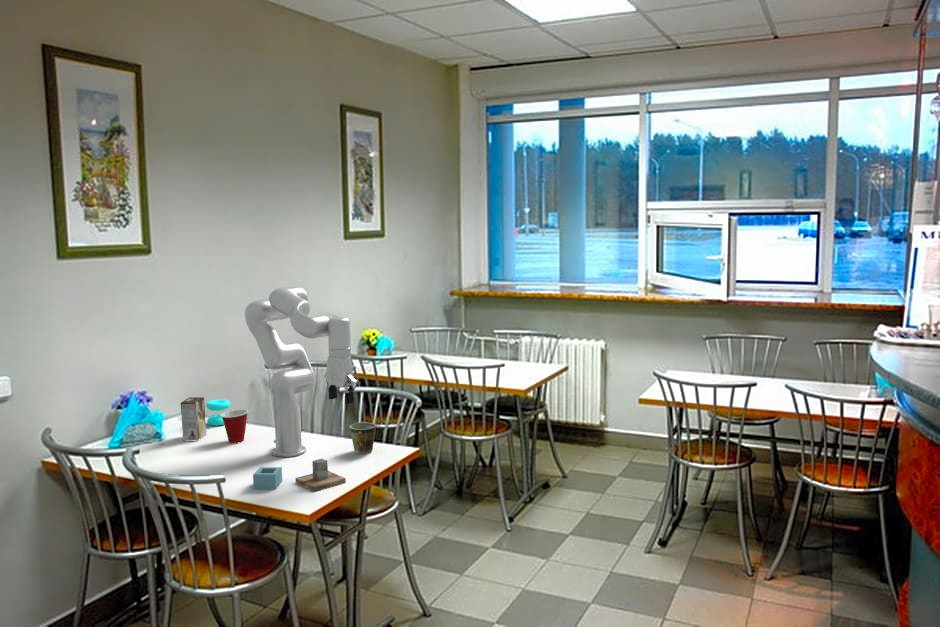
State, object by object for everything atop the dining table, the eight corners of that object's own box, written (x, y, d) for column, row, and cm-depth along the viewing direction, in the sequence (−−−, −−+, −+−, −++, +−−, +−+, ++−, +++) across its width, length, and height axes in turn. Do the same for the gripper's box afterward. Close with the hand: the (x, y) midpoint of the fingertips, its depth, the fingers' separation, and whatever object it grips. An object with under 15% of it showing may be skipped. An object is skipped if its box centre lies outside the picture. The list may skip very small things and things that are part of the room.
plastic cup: (227, 437, 306) (225, 408, 304) (253, 437, 305) (252, 408, 304) (217, 445, 295) (215, 415, 293) (244, 445, 294) (243, 415, 293)
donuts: (201, 403, 321) (212, 398, 331) (203, 426, 322) (213, 420, 332) (223, 404, 320) (234, 398, 329) (225, 427, 321) (235, 420, 331)
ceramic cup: (353, 447, 291) (352, 422, 289) (378, 447, 290) (378, 422, 289) (346, 458, 278) (345, 431, 276) (373, 458, 277) (372, 431, 276)
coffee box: (191, 435, 309) (189, 396, 307) (206, 434, 309) (204, 396, 307) (182, 441, 300) (180, 402, 298) (198, 441, 300) (196, 402, 298)
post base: (295, 482, 252) (294, 460, 251) (326, 473, 260) (325, 453, 259) (314, 491, 244) (313, 469, 243) (345, 482, 252) (345, 460, 251)
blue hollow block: (253, 489, 246) (252, 474, 246) (260, 481, 254) (260, 467, 253) (275, 489, 246) (275, 474, 245) (282, 481, 253) (281, 467, 253)
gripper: (316, 351, 263) (318, 398, 266) (345, 357, 251) (346, 407, 253) (334, 348, 269) (335, 395, 271) (363, 354, 256) (364, 403, 259)
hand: (341, 401), depth 262 cm, fingers open, 9 cm apart
